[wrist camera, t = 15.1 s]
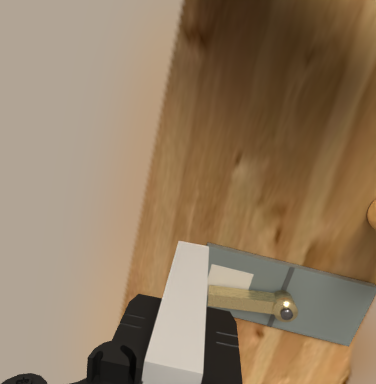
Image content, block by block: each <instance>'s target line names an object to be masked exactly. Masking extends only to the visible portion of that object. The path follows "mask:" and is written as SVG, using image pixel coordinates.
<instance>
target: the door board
mask: <svg viewBox="0 0 376 384" xmlns="http://www.w3.org/2000/svg"><path fill="white" fill-rule="evenodd" d="M207 246H209V260H208V281H207V302H206V307H211V308H216V309H221V310H226V311H230V312H231V314H232V316H233V317H236V318H240V319H244V320H248V321H252V322H255V323H259V324H263V325H267V326H270V327H275V328H279V329H283V330H287V331H291V332H295V333H299V334H302V335H306V336H310V337H314V338H318V339H322V340H326V341H330V342H334V343H338V344H342V345H346V346H349V345H350V343H351V341H352V339H353V337H354V335H355V333H356V332H357V330H358V328H359V326H360V324H361V322H362V320H363V318H364V316H365V314H366V312H367V310H368V308H369V306H370V304H371V302H372V301H373V299H374V297H375V295H376V285H375V284H372V283H368V282H364V281H360V280H356V279H352V278H348V277H344V276H340V275H336V274H332V273H328V272H324V271H320V270H316V269H312V268H308V267H304V266H300V265H296V264H292V263H288V262H284V261H280V260H276V259H272V258H268V257H264V256H260V255H256V254H252V253H248V252H244V251H240V250H236V249H232V248H228V247H224V246H220V245H216V244H212V243H207ZM209 285H214V286H222V287H230V288H238V289H246V290H254V291H262V292H270V293H274V292H276V291H279V290H284V291H287V292H289V293H290V294H291V296H292V298H293V300H294V302H295V305H296V307H297V309H298V315H297V317H296V318H295V319H294V320H293V321H290V322H281V321H279V320H278V319H276V317H275V315H274V314H267V313H259V312H252V311H244V310H236V309H228V308H221V307H213V306H208V291H209Z"/></svg>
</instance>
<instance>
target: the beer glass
mask: <svg viewBox="0 0 376 384" xmlns="http://www.w3.org/2000/svg"><path fill="white" fill-rule="evenodd" d="M367 219H368V222H369V224H370V225H371V226H372V227H373V228H374V229H376V200H375V201H374V202H373V203H372V204H371V205H370V207H369V209H368V213H367Z"/></svg>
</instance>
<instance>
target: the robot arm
mask: <svg viewBox="0 0 376 384" xmlns="http://www.w3.org/2000/svg"><path fill="white" fill-rule="evenodd" d="M208 260H209V246H204V245H199V244H194V243H188V242H183V241H179V242H178V245H177V249H176V252H175V256H174V259H173V263H172V266H171V270H170V273H169V277H168V280H167V284H166V287H165V291H164V294H163V298H157V297H152V296H147V295H142V294H138V295H137V296H136V297H135V298H133V299H132V300H131V301H130V302H129V304H128V306H127V308H126V310H125V313H124V315H123V317H122V319H121V321H120V325H119V326H118V328H117V330H116V332H115V335H114V337H113V339H112V341H109V342H105V343H103V344H101V345H100V346H98V347H96V348H95V349H94V350H93V351H92V353H91V354H90V355H89V357H88V364H87V378H86V379H83V380H81V381H79V382H75V383H71V384H242V374H241V364H240V354H239V348H238V346H239V344H238V338H237V336H238V334H237V324H236V321H235V320H234V318H233V316H232V314H231V312H230V311H226V310H221V309H216V308H211V307H206V302H207V281H208ZM2 384H47V382H46V381H45V380H44V379H43V378H42V377H41V376H40V375H36V374H32V373H28V374H20V375H17V376H14V377H12V378H10V379H7V380H6V381H4V382H3V383H2Z"/></svg>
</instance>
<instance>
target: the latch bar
mask: <svg viewBox="0 0 376 384" xmlns="http://www.w3.org/2000/svg"><path fill="white" fill-rule="evenodd" d="M208 306H213V307H221V308H228V309H236V310H244V311H252V312H259V313H267V314H274V315H275V317H276V319H278V320H279V321H281V322H290V321H293V320H294V319H295V318H296V317H297V315H298V309H297V307H296V305H295V302H294V300H293V298H292V296H291V294H290V293H289V292H287V291H284V290H279V291H276V292H274V293H270V292H262V291H254V290H246V289H238V288H230V287H222V286H214V285H209V291H208Z"/></svg>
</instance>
